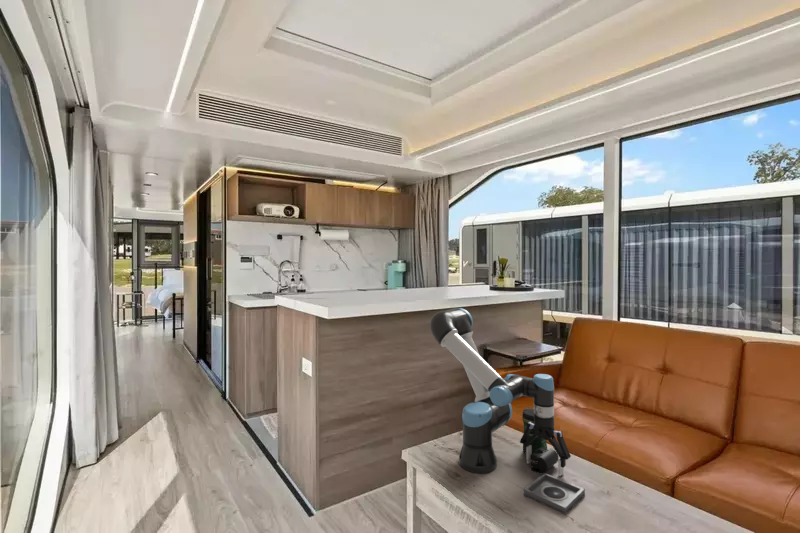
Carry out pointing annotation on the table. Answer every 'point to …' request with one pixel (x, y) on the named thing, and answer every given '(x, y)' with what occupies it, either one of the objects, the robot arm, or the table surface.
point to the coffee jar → (532, 431)
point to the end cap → (543, 460)
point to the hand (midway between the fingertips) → (544, 468)
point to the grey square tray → (554, 493)
